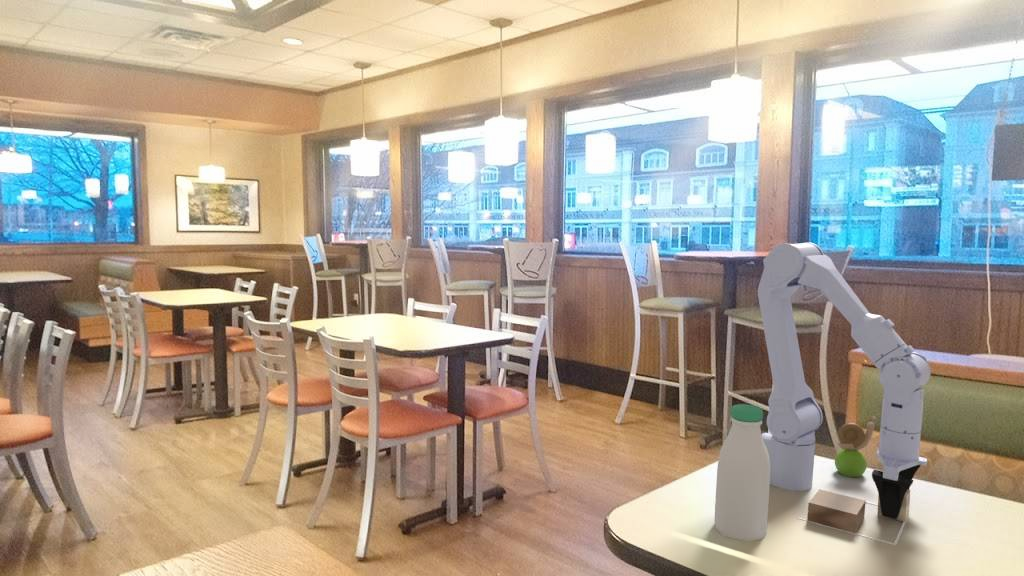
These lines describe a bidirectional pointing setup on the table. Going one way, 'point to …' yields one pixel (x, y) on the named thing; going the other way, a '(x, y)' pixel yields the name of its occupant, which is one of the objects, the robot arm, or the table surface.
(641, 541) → the table surface
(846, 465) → the snail figurine
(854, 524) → the walnut base block
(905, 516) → the maple cube
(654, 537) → the table surface
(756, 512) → the milk bottle
